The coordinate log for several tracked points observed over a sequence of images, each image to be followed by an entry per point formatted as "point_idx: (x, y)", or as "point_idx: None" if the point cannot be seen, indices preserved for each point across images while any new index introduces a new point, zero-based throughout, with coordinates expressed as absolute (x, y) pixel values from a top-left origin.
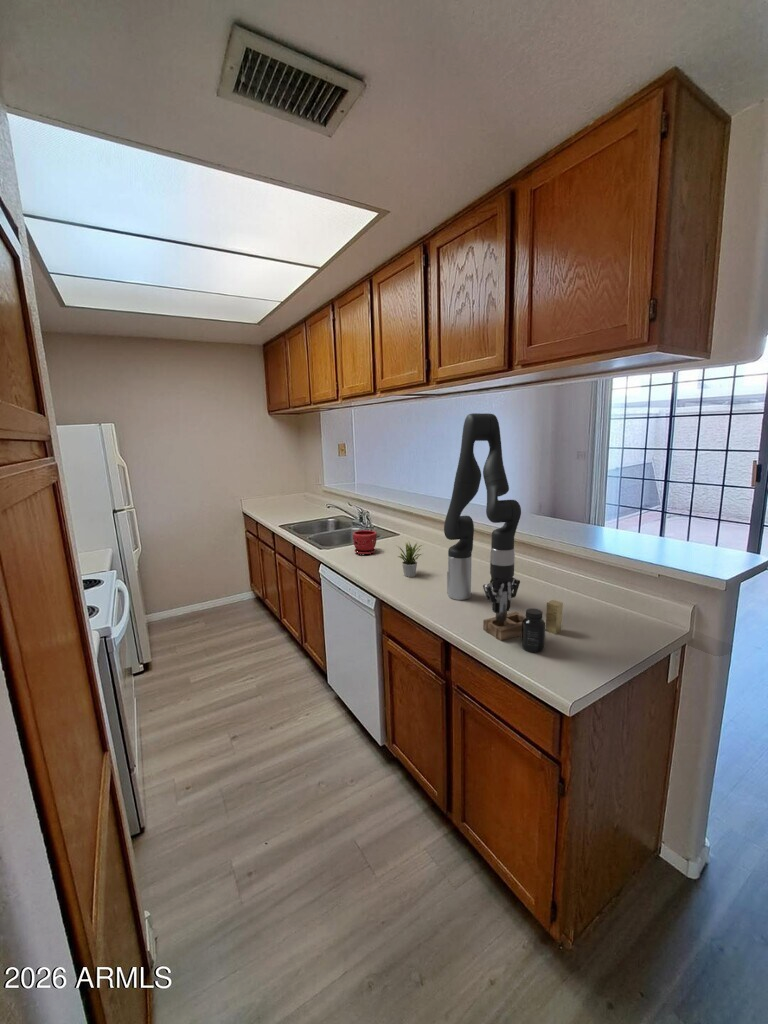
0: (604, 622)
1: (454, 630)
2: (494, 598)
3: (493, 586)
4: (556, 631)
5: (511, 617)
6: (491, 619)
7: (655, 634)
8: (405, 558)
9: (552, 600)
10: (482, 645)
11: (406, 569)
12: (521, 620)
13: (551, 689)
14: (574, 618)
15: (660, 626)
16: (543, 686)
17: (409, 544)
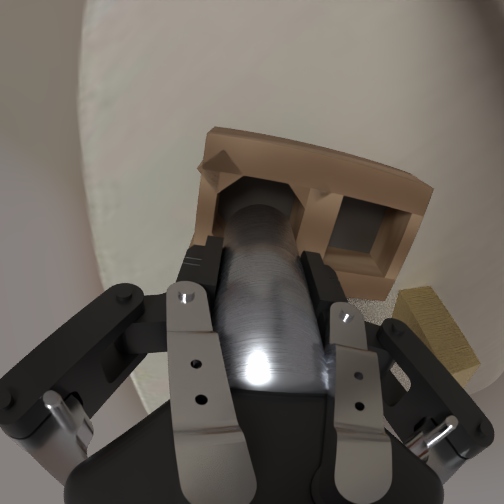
0: (497, 329)
1: (97, 63)
2: (160, 345)
3: (137, 444)
4: None
5: (374, 200)
6: (252, 159)
7: (471, 384)
8: None
9: (473, 368)
10: (113, 230)
11: None
12: (393, 230)
13: (150, 406)
14: (501, 285)
15: (499, 370)
16: (143, 398)
17: None
